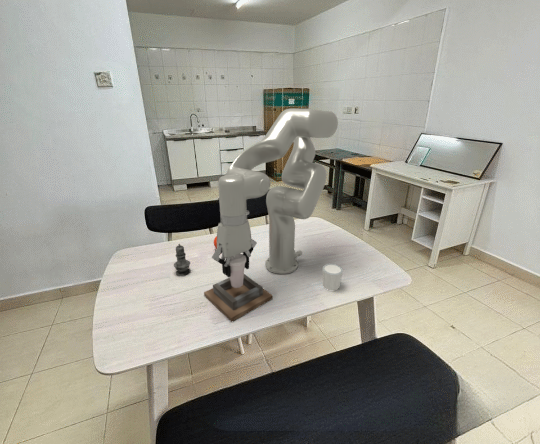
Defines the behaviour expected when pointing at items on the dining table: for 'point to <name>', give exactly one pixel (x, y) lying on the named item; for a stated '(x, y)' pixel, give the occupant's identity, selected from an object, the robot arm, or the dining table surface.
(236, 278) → the smoothie
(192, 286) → the dining table surface
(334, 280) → the shot glass
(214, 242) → the clementine
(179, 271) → the chess piece
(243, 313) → the socket block
